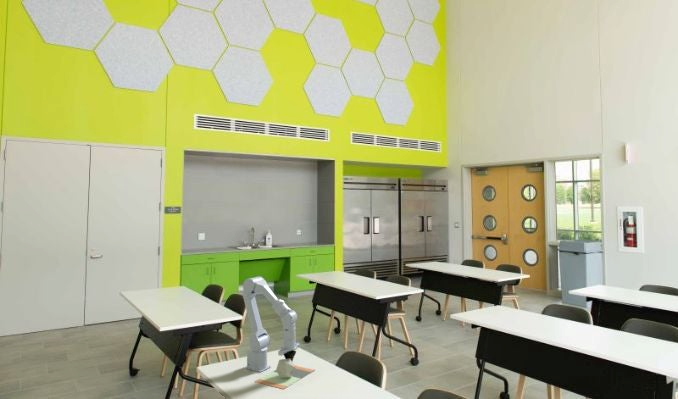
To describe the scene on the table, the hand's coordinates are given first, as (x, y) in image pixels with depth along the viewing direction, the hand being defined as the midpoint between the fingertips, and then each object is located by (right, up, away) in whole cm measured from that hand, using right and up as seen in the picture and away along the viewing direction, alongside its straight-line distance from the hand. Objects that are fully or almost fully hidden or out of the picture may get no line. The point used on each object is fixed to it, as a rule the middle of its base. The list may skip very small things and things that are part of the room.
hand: (289, 366), depth 194 cm
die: (-1, -3, -4) cm, 5 cm away
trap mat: (-1, -4, -2) cm, 4 cm away
